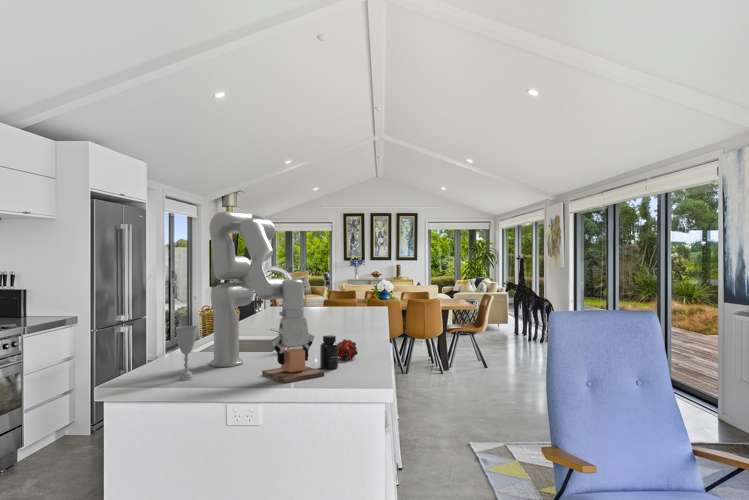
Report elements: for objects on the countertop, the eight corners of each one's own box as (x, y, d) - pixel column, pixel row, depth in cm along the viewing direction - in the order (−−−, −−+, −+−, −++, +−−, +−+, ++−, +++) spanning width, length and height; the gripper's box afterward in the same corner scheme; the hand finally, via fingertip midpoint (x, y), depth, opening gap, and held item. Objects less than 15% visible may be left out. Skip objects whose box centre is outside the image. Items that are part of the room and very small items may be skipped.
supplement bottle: (335, 370, 198) (335, 337, 198) (317, 369, 199) (317, 337, 199) (340, 366, 205) (340, 335, 205) (323, 365, 206) (323, 334, 206)
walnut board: (262, 374, 191) (262, 370, 191) (300, 368, 201) (300, 364, 201) (284, 383, 178) (284, 378, 178) (324, 375, 188) (324, 371, 188)
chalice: (190, 375, 190) (190, 325, 190) (201, 378, 186) (201, 326, 186) (171, 379, 184) (171, 327, 185) (182, 382, 180) (181, 329, 180)
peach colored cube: (281, 369, 190) (281, 349, 190) (296, 366, 194) (296, 347, 194) (290, 372, 185) (289, 352, 185) (305, 369, 189) (305, 350, 189)
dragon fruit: (348, 359, 225) (348, 369, 213) (332, 348, 224) (331, 357, 212) (360, 343, 224) (360, 353, 213) (344, 332, 223) (343, 341, 212)
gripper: (276, 317, 181) (276, 367, 181) (319, 313, 192) (319, 360, 192) (266, 315, 187) (266, 363, 187) (307, 311, 198) (308, 357, 198)
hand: (293, 361), depth 190 cm, fingers open, 9 cm apart
